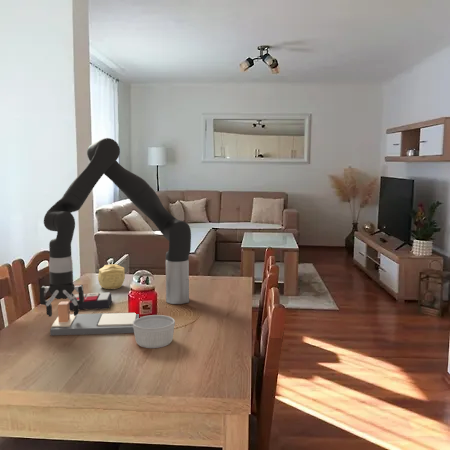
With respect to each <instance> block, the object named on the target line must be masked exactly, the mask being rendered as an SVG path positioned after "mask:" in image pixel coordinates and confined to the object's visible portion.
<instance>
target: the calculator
mask: <svg viewBox="0 0 450 450" xmlns="http://www.w3.org/2000/svg"><path fill="white" fill-rule="evenodd" d="M74 295H75V297H76V298H77V300H79V293H76V294H74ZM112 301H113V300H112V292H109V291H108V292H90V293H89V292H88V293H84V301H83V303H82V304H79V311H81V310H93V309H96V310H108V309H110V307H111V304H112ZM69 305H70V311H74V304H73V303H72V301H70V300H69Z"/></svg>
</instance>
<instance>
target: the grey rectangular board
mask: <svg viewBox="0 0 450 450" xmlns="http://www.w3.org/2000/svg"><path fill="white" fill-rule="evenodd" d="M72 314H73V313H70V315H72ZM137 318H139V314H136V313H135V312H106V313H104V312H101V313H78V314H77V316H76V317H75V319H74V321H73V322H72V324H71V326H70V327H51V328H50V329H49V331H50V333H49V334H50V336H70V335H72V336H74V335H75V336H76V335H79V336H80V335H104V334H105V335H106V334H110V335H111V334H134V328H133V321H134V320H136V319H137Z"/></svg>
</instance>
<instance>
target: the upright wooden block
mask: <svg viewBox="0 0 450 450" xmlns="http://www.w3.org/2000/svg"><path fill="white" fill-rule="evenodd" d="M69 302H70V300H69V301H67V300H65V301H64V300H63V301H62V300H61V301H60V302H59V303H58V304H57V310H58V311H57V313H58V316H57V317H56V319H55V320H54V321H53V323H52V325H51V326H50V327H51V328H52V327H70V326H71V324H72V322H73V321H74V319H75V317H76V316H77V315H76V316H74V313H71V310H70V305H69ZM70 314H72V315H70Z"/></svg>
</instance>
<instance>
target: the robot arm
mask: <svg viewBox="0 0 450 450" xmlns="http://www.w3.org/2000/svg"><path fill="white" fill-rule="evenodd" d="M120 153H121V150H120V146H119V143H118V142H117V141H116V140H115V139H113V138H109V137H106V138H105V137H104V138H102V139H100V140H97V141H95V142H94V143H92V144H90V145H89V146H88V148H87V150H86V155H87V158H88V160H89V163H88V164H87V166H86V167H85V168H84V169H83V170H82V171H81V173H79V174H78V176H77V177H76V178H75V179H74V180H73V181H72V182H71V184H70V185H69V186H68V188H67V189H66V191H65V193H64V194H63V195H62V197H61V198H60V199H58V200H57V201H56V202H55V203H54V204H52V206H51V207H50V208H48V210H47V211H46V213H45V215H44V218H43V225H44V227H45V228H46V229H47V230H48V231H51V232H57V233H56V238H53V239H50V241H49V244H48V245H49V246H48V248H49V249H48V250H49V263H48V264H49V265H48V270H49V286H45V285H42V286H41V287H40V288H39V289H40V290H39V292H40V293H39V296H40V297H39V302H40V303H39V304H40V305H41V306H42V305H44V306H45V308H46V315H47V316H48V317H49V318H50V317H52V316H53V305H52V302H53V301H54V300H55V299H56V300H61V299H62V300H67V299H68V300H69V302H70V301H72V303H73V304H74V310H73V314H74V316H76V315H77V314H80V313H79V312H80V310H79V304H82V303H83V301H84V294H85V293H84V285H83V284H80V285H74V271H73V270H74V268H73V257H72V242H73V236H74V233H75V229H76V221H75V220H76V219H75V217H74V215H73V214H72V213H74V212H78V211H80V209H81V208H82V207H83V205H84V204H85V202H86V200H87V199H88V197H89V195H90V194H91V192H92V191H93V189H94V188H95V186H96V185H97V183H98V182H99V181H100V179H101V178H103V177H102V176H103V175H104V176H106V177H107V178H109V180H110V181H111V182H113V184H114V185H115V186H116V187H117V188H118V189H119V190H120V191H121V192H122V193H123V194H124V195H125V196H126V197H127V198H128V200H129V201H130V202H131V203H132V204H133V205H135V207H136V208H137V209H138V210H139V211H140V212H142V213H143V215H145V216H146V217H147V218H148V219H150V221H151V222H152V223H153V224H154V225H155V226H156V227H157V229H158V230H159V232H160V233H161V235H163V236H164V238H165V239H166V240H167V241H168V251H166V253H165V302H166V303H167V304H171V305H181V304H188V303H189V304H190V279H189V277H190V274H189V273H190V270H189V266H190V264H189V263H190V262H189V260H190V259H189V258H190V254H191V250H192V245H191V244H192V241H191V240H192V234H191V233H192V232H191V227H190V225H189V224H188V223H187V222H186V221H184V220H182V219H181V220H180V219H177V218H176V217H175V216H174V215H173V214H171V213H170V211H168V210H167V209H166V207H165V206H164V205H163V203H162V201H161V199H160V197H159V195H158V194H157V192H156V191H155V190H154V189H153V188H152V187H151V186H150V184H149V183H148V182H147V181H146V180H145V179H143V178H142V177H141V176H139V175H137V174H135V173H133V172H132V171H130V170H128V169H126V168H124V166H122V165H121V164H120V163H119V162H118V158H119V157H120ZM48 291H49V293H50V294H51V296H50V297H49V298H48V299H46V296H47V292H48ZM74 291H76V293H78V294H79V300H77V298H76V297H75V294H74V293H73V292H74Z"/></svg>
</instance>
